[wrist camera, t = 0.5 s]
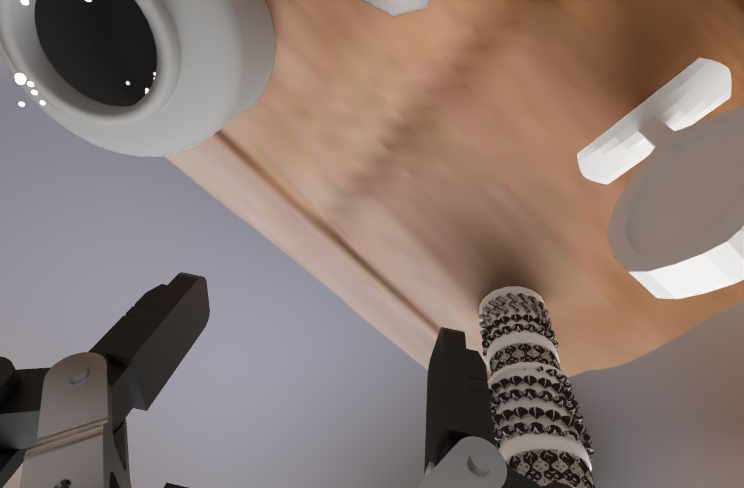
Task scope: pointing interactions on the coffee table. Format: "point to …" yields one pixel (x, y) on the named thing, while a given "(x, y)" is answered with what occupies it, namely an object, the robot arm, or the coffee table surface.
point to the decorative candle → (532, 391)
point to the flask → (398, 5)
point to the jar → (140, 66)
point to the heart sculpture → (677, 185)
